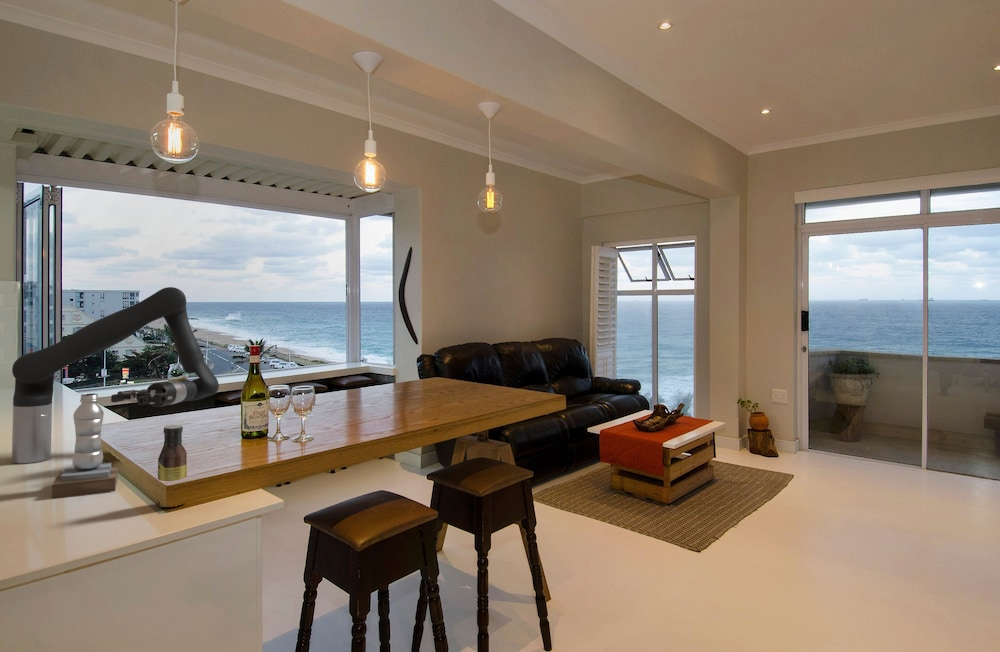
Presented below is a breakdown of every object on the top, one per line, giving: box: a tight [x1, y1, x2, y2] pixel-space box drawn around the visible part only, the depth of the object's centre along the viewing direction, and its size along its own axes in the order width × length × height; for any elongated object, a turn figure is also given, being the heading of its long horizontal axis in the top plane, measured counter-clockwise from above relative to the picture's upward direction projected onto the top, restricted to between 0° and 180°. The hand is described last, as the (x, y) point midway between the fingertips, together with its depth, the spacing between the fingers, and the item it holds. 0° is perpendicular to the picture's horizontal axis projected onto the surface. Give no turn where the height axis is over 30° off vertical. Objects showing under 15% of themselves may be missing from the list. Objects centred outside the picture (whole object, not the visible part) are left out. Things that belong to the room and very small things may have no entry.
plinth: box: [51, 462, 119, 499], centre depth 147 cm, size 13×13×5 cm
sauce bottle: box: [157, 424, 188, 508], centre depth 136 cm, size 6×6×20 cm
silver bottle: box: [71, 393, 105, 470], centre depth 147 cm, size 6×7×20 cm
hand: (125, 399), depth 158 cm, fingers open, 8 cm apart
